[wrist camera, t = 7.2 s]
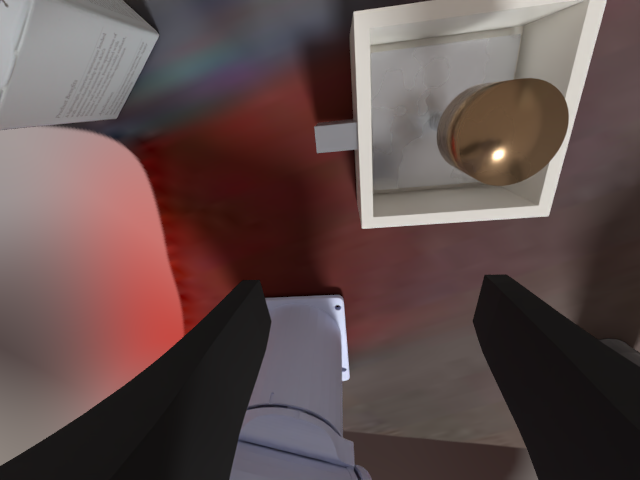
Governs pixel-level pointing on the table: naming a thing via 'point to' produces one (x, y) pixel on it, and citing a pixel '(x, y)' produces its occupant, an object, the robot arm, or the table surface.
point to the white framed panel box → (532, 62)
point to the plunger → (460, 116)
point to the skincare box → (68, 60)
